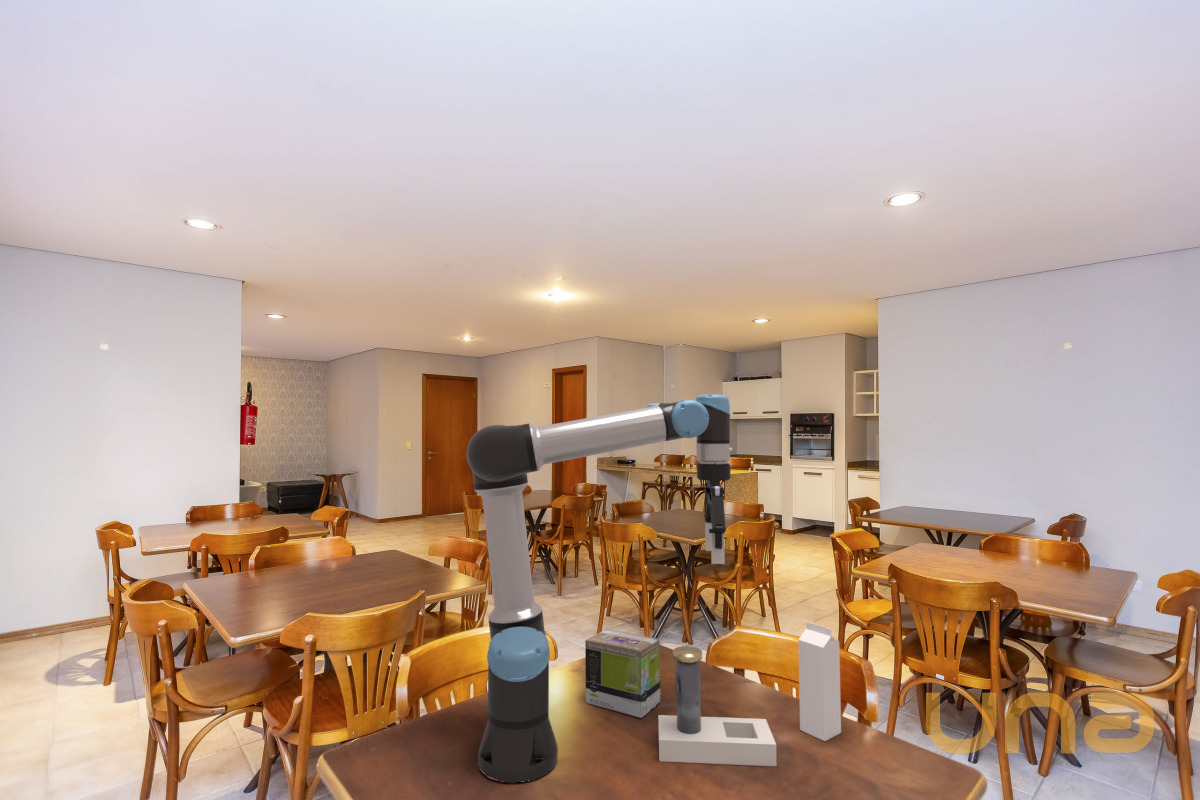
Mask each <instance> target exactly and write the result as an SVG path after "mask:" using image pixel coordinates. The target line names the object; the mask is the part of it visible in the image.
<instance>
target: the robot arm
mask: <svg viewBox="0 0 1200 800" xmlns="http://www.w3.org/2000/svg"><path fill="white" fill-rule="evenodd" d="M730 409H731V407H730V400H729V397H728V396H727V395H725V394H699V395H697V396H696V397H695V400H694V399H688V398H687V399H683V400H680V401H675V402H667V403H666V402H657V403H648V404H647V405H646V406H645V407H641V408H636V409H631V410H624V411H620V412H613V413H608V414H603V415H596V416H592V417H586V418H581V419H580V418H579V419H575V420H569V421H564V422H558V423H552V424H548V425H547V424H546V425H542V426H535V425H534V424H533V423H531V422H530V423H525V424H517V425H504V424H492V425H487V426H485V427H482V428H481V429H479V430H477V432H475V433H474V434H473V435H472V437H471V438H470V439H469V441H468V444H467V446H466V460H467V463H468V467H469V468H470V469H471V471H472V479H473V489H474V492H476V494H478V495H479V496H481V498H482V506H483V514H484V515H483V516H484V522H485V532H486V542H487V551H488V561H489V568H490V569H489V571H490V577H491V586H492V587H491V588H492V596H493V605H494V607H493V609H492V611H491V612H490V613H489V614H488V616H487V617H488V626H489V637H490V642H489V644H488V650H487V654H486V659H487V664H488V667H487V669H488V670H487V671H488V673H487V723H486V726H485V729H484V732H483V736H482V739H481V742H480V746H479V748H478V753H477V766H478V765H479V768H480V769H481V770H482V771H483V772H484V773H485V774H486V775H487V776H489V777H492V778H494V779H497V780H499V781H504V782H509V783H508V784H516V783H515V782H521V781H528V780H532V781H534V780H533V779H535V780H538V779H541V778H542V776H543V777H545V776H546V775H548V774H549V773H550V772H552V771H553V769H555V767H556V766H557V764H558V760H559V759H558V758H559V757H558V748H559V747H558V742H557V739H556V736H555V733H554V730H553V726H552V724H551V720H550V717H549V712H550V711H549V706H550V705H549V704H550V702H549V701H550V699H549V696H550V693H549V692H550V691H549V689H550V687H549V686H550V682H549V681H550V679H549V678H550V674H549V673H550V672H549V670H550V669H549V668H550V665H549V664H550V657H551V656H550V655H551V650H550V645H549V640H548V638H547V633H546V630H545V622H544V614H543V607H542V606H541V605H540V604H539V603H537V602H536V601H535V598H534V588H533V577H532V570H531V559H530V553H529V552H530V551H529V543H528V541H529V540H528V533H527V526H526V523H527V522H526V516H525V509H524V508H525V506H524V497H523V492H524V490H525V488H526V487H527V486H528V484H529V481H528V479H529V478H528V474H530V473H534V472H538V471H540V470H541V469H542V467H543V466H544V465H548V464H553V463H559V462H563V461H568V460H569V461H570V460H574V459H579V458H584V457H590V456H594V455H599V454H604V453H605V454H606V453H611V452H615V451H621V450H627V449H632V448H637V447H641V446H648V445H652V444H653V445H654V444H657V443H662V442H670V441H674V440H680V439H685V438H686V439H692V438H695V437H696V444H695V446H696V447H695V448H696V460H697V462H698V463H697V464H696V478H697V479H698V480H699V481H705V482H704V485H705V487H704V491H703V492H704V514H703V517H704V521H705V522H704V526H705V528H704V530H705V531H704V534H705V535H704V536H705V538H704V539H705V540H704V541H705V542H704V543H705V547H704V548H705V551H706V552H710V553H711V558H710V559H711V564H712V565H725V563H726V562H725V561H726V560H725V559H726V558H725V557H726V556H725V555H726V554H725V551H726V550H725V532H726V530H727V528H726V518H725V517H726V516H725V503H724V493H725V492H724V491H725V489H724V486H723V485H722V486H721V481H729V480H730V479H731V478H732V476H731V464H730V463H728V462H730V461H731V453H733V450H734V449H733V447H730V446H731V445H730V444H731V410H730ZM479 768H478V769H479ZM540 777H541V778H540ZM537 778H538V779H537ZM510 782H511V783H510ZM528 782H529V781H528Z"/></svg>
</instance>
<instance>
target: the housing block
mask: <svg viewBox="0 0 1200 800" xmlns="http://www.w3.org/2000/svg"><path fill="white" fill-rule="evenodd" d="M657 717H658V719H657V720H658V722H657V725H658V728H657V729H658V736H657V737H658V757H659V760H658V761H659V762H665V763H690V764H691V763H692V764H709V765H710V764H713V765H735V766H737V765H738V766H739V765H740V766H758V767H759V766H762V767H777V766H778V765H777V743H776V740H775V739H774V735H773V733H772V730H771V728H770V726H769V723H768V721H767V719H766V718H752V717H751V718H748V717H747V718H746V717H745V718H743V717H724V716H723V717H722V716H720V717H719V716H701V731H700V732H698V733H695V734H685V733H682V732H680V731H679V730H678V729H677V715H664V714H658V716H657Z"/></svg>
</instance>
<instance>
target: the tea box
mask: <svg viewBox="0 0 1200 800" xmlns="http://www.w3.org/2000/svg"><path fill="white" fill-rule="evenodd" d="M660 645H661V644H660V639H659V638H656V637H652V636H646V635H645V636H644V635H639V634H636V633H635V634H634V633H630V632H625V631H619V630H614V629H608V628H606V629H604V630H602V631H600V632H598V633H596V634H594V635H593V636H590V637H588V638H586V639H585V643H584V647H585V648H584V649H585V651H584V652H585V656H584V657H585V659H584V660H585V661H584V662H585V703H587V704H589V705H593V706H597V707H602V708H604V709H607V710H611V711H614V712H619V713H622V714H626V715H629V716H633V717H636V718H639V719H642V718H643V717H644V716H646V715H647V714H648V713H650V712H651V711H652V710H653V709H654V708H656V707H657V706H658V705H659V704H660V702H661V661H660V660H661V652H660V650H661V649H660ZM658 703H659V704H658ZM657 704H658V705H657ZM656 705H657V706H656ZM652 708H653V709H652ZM651 709H652V710H651ZM650 710H651V711H650Z"/></svg>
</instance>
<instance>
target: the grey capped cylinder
mask: <svg viewBox="0 0 1200 800" xmlns="http://www.w3.org/2000/svg"><path fill="white" fill-rule="evenodd" d="M672 658H673V659H674V661H675V701H676V702H675V703H676V705H675V707H676V716H677V729H678V730H679V731H680V732H682V733H685V734H695V733H698V732H700V731H701V717H702V708H701V707H702V705H701V665H700V664H701V662H700V661H701V660H702V659H703V651H702V650H701V649H700V648H698V647H695V646H691V645H688V646H687V645H682V646H677V647H675V648H673V649H672Z"/></svg>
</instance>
